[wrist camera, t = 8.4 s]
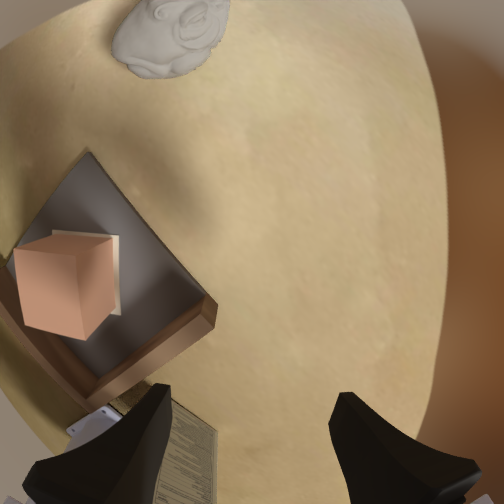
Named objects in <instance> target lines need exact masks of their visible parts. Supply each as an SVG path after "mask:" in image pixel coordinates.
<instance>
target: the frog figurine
mask: <svg viewBox="0 0 504 504" xmlns="http://www.w3.org/2000/svg"><path fill="white" fill-rule="evenodd" d="M229 8H230V1H229V0H141V1H140V2H139V3H138V4H137V5H136V6H135V7H134V8H133V10H132V11H131V12H130V13H129V14H128V16H127V17H126V18H125V19H124V20H123V21H122V23H121V24H120V25H119V27H118V28H117V30H116V32H115V34H114V37H113V40H112V46H111V51H112V56H113V57H114V58H115V59H116V60H117V61H119V62H122V63H125V64H127V67H128V69H129V70H130V71H131V72H133V73H134V74H135V75H137V76H138V77H140V78H143V79H167V78H175V77H179V76H182V75H185V74H188V73H189V72H191V71H192V70H195V69H196V68H197V67H199V66H201V65H202V64H203V63H204V62H205V61H206V60H207V59H208V58H209V57H210V54H211V50H210V49H211V48H215V47H216V46H217V44H218V42H220V41H221V39H222V37H223V35H224V32H225V29H226V24H227V20H228V14H229Z"/></svg>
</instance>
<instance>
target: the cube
mask: <svg viewBox="0 0 504 504" xmlns="http://www.w3.org/2000/svg"><path fill="white" fill-rule="evenodd" d="M13 250H14V261H15V270H16V278H17V285H18V291H19V297H20V303H21V308H22V313H23V318H24V323H25V325H26V326H30V327H33V328H37V329H40V330H44V331H48V332H51V333H55V334H59V335H63V336H67V337H71V338H76V339H80V340H85V341H86V340H87V338H88V337H89V336H90V335H91V334H92V333H93V332H94V331H95V330H96V328H97V327H98V326H99V325H100V324H101V323H102V322H103V321H104V320H105V319H106V317H107V316H108V315H109V314H110V313H111V312H112V311H113V310H114V309H115V308H116V303H115V289H114V270H113V238H104V237H91V236H77V235H64V234H54V235H51V236H48V237H45V238H42V239H39V240H36V241H33V242H30V243H27V244H25V245H22V246H19V247H16V248H14V249H13Z"/></svg>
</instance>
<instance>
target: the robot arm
mask: <svg viewBox="0 0 504 504" xmlns="http://www.w3.org/2000/svg"><path fill="white" fill-rule="evenodd" d="M172 420H173V415H172V402H171V388H170V385H166V384H160V383H155V384H154V385H153V386H152V387H151V389H150V390H149V391H148V392H147V393H146V394H145V395H144V397H143V398H142V399H141V400H140V401H139V402H138V403H137V404H136V405H135V406H134V407H133V408H132V409H131V410H130V411H129V412H128V413H127V414H126V415H124V416H121V415H120V414H119V413H118V412H117V411H115V410H114V409H113V408H112V407H111V406H109V405H107V404H106V405H104V406H103V407H101V408H100V409H98V410H97V411H95V412H93V413H92V414H88V415H87V416H85V417H84V418H82V419H80V420H79V421H77V422H76V423H74V424H73V425H71V426H70V427H68V428H67V430H66V431H67V433H68V434H70V435H71V436H72V438H71V440H70V442H69V444H68V445H67V447H66V449H65V451H64V453H63V454H61V455H58V456H55V457H51V458H48V459H44V460H40V461H36V462H35V464H34V465H33V466H32V468H31V470H30V471H29V473H28V475H27V477H26V478H25V480H24V482H23V484H22V486H23V489H24V491H25V492H26V493H27V495H28V496H29V498H28V500H27V502H26V504H153V497H154V491H155V485H156V481H157V477H158V473H159V470H160V467H161V463H162V460H163V457H164V454H165V450H166V447H167V444H168V440H169V437H170V431H171V426H172ZM328 425H329V431H330V436H331V440H332V444H333V447H334V450H335V453H336V455H337V458H338V461H339V464H340V466H341V469H342V472H343V475H344V477H345V480H346V484H347V487H348V492H349V497H350V502H351V504H463V503H464V502H465V501H466V498H465V497H464V495H465V493H467V491H469V489H470V488H471V487H472V486H473V485H474V484H475V483H476V482H477V481H478V480H479V478H480V477H481V474H482V471H481V469H480V468H479V467H478V465H477V464H476V462H475V461H474V460H472V459H467V458H462V457H457V456H453V455H450V454H446V453H443V452H440V451H438V450H435V449H433V448H430V447H428V446H426V445H423V444H422V443H420V442H418V441H416V440H414V439H412V438H411V437H409V436H407V435H406V434H404V433H402V432H401V431H399V430H398V429H397V428H395V427H394V426H392V425H391V424H390V423H388V422H387V421H386V420H385V419H383V418H382V417H381V416H380V415H378V414H377V413H376V412H375V411H374V410H373V409H371V408H370V407H369V406H368V405H367V404H366V403H365V402H364V401H362V400H361V399H360V398H359V397H358V396H357V395H356V394H354V393H353V392H342V393H339V396H338V399H337V402H336V404H335V407H334V410H333V413H332V415H331V418H330V421H329V423H328ZM4 504H22V503H20V502H19V501H17V500H15V499H14V498H12V497H11V496H7V498H6V500H5V502H4ZM470 504H493V502H492V501H491V499H490V497H489V496H488V494H485V495H483V496H482V497H480V498H479V499H477V500H475V501H474V502H472V503H470Z"/></svg>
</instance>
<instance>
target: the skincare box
mask: <svg viewBox="0 0 504 504" xmlns="http://www.w3.org/2000/svg"><path fill="white" fill-rule="evenodd" d="M171 402H172V415H173V420H172V426H171V431H170V437H169V440H168V444H167V447H166V450H165V454H164V457H163V460H162V463H161V467H160V470H159V473H158V477H157V481H156V485H155V491H154V497H153V504H217V457H218V432H217V431H216V430H214V429H213V428H211V427H210V426H208V425H207V424H206V423H204V422H203V421H201V420H200V419H198V418H197V417H195V416H194V415H192V414H191V413H190V412H188V411H187V410H185V409H184V408H182V407H181V406H180V405H178V404H177V403H175V402H174V401H173V400H171Z"/></svg>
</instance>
